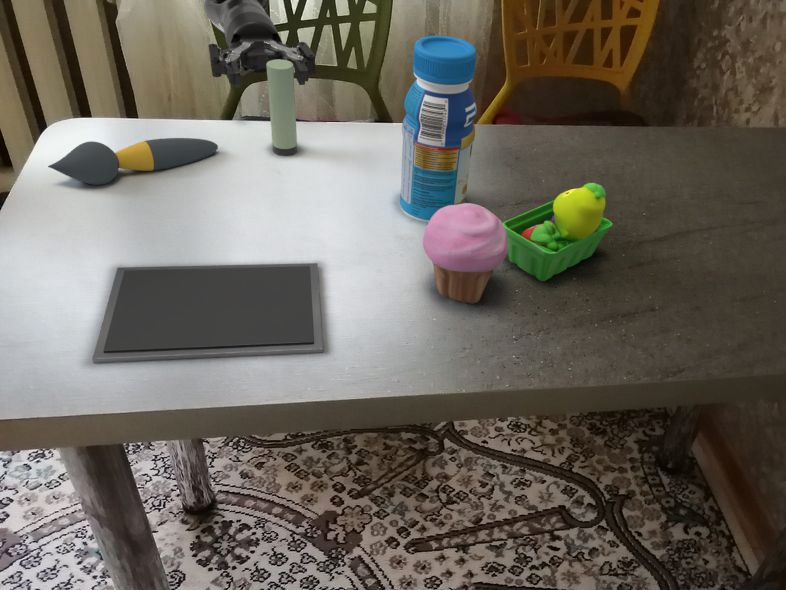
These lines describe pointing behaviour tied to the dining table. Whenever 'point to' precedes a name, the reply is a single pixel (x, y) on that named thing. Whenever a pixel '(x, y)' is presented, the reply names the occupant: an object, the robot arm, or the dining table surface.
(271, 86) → the mint green cylinder
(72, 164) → the paintbrush
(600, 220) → the fruit basket
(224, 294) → the tablet
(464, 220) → the cupcake
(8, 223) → the dining table surface
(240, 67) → the robot arm
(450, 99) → the beverage bottle
